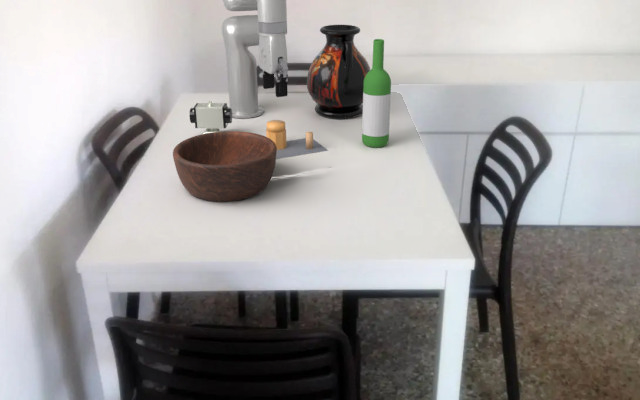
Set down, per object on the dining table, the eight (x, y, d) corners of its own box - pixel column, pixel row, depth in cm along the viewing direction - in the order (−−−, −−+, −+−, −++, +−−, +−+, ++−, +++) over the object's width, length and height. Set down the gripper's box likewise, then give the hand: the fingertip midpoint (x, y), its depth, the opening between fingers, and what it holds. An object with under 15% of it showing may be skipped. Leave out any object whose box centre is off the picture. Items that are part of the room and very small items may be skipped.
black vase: (299, 106, 221) (298, 23, 209) (358, 101, 227) (359, 20, 215) (318, 125, 202) (317, 35, 191) (381, 119, 208) (384, 31, 196)
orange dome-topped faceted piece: (264, 145, 183) (263, 121, 180) (281, 142, 185) (281, 119, 182) (271, 150, 178) (270, 126, 175) (288, 148, 180) (287, 124, 177)
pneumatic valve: (231, 143, 187) (229, 103, 182) (191, 143, 187) (188, 103, 182) (234, 137, 192) (231, 98, 187) (195, 137, 192) (192, 98, 187)
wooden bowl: (180, 213, 146) (176, 171, 141) (173, 172, 168) (169, 135, 163) (287, 200, 152) (286, 160, 147) (267, 163, 174) (265, 126, 169)
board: (253, 150, 182) (252, 131, 180) (311, 141, 189) (310, 122, 186) (267, 164, 172) (267, 144, 170) (328, 154, 179) (328, 135, 177)
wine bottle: (373, 150, 182) (377, 43, 169) (356, 143, 187) (358, 39, 175) (394, 144, 186) (399, 40, 173) (376, 137, 192) (380, 36, 179)
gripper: (248, 24, 173) (251, 86, 180) (270, 34, 159) (273, 101, 166) (274, 22, 176) (276, 83, 183) (298, 32, 162) (300, 98, 169)
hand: (275, 92), depth 174 cm, fingers open, 9 cm apart
